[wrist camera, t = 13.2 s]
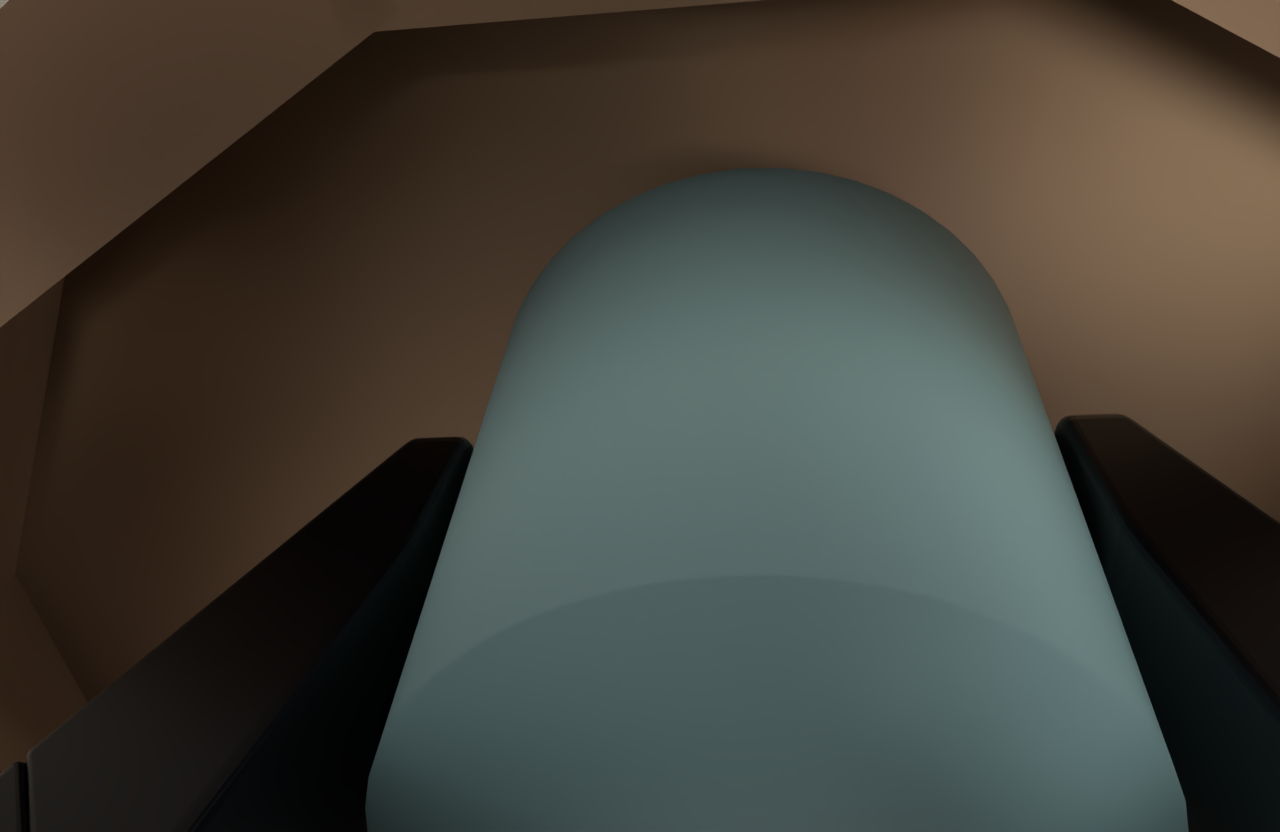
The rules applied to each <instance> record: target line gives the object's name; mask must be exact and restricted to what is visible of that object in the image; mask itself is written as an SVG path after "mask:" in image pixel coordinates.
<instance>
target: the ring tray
mask: <svg viewBox="0 0 1280 832" xmlns="http://www.w3.org/2000/svg"><path fill="white" fill-rule="evenodd" d="M742 168H786V169H796V170H805V171H815V172H820V173H825V174H829V175H833V176H838V177H842V178H847V179H851V180H855V181H857V182H860V183H863V184H866V185H868V186H871V187H874V188H876V189H879V190H882V191H885V192H887V193H890V194H892V195H893V196H895V197H897V198H899V199H901V200H903V201H905V202H907V203H909V204H911V205H912V206H914V207H916V208H918V209H920V210H922V211H923V212H924V213H926V214H927V215H929V216H930V217H931V218H933V219H934V220H936V221H937V222H938V223H940V224H941V225H943V226H944V227H945V228H947V229H948V230H949V231H951V232H952V233H953V234H954V235H955V236H956V237H957V238H958V239H959V240H960V241H961V242H962V243H963V244H964V245H965V246H966V247H967V248H968V249H969V250H970V251H971V252H972V253H973V254H974V255H975V256H976V257H977V259H978V260H979V261H980V263H981V264H982V265H983V267H984V268H985V269H986V271H987V272H988V273H989V274H990V276H991V277H992V278H993V280H994V281H995V283H996V285H997V287H998V289H999V291H1000V293H1001V294H1002V296H1003V298H1004V300H1005V302H1006V304H1007V306H1008V308H1009V310H1010V313H1011V316H1012V319H1013V321H1014V324H1015V327H1016V330H1017V332H1018V335H1019V338H1020V341H1021V344H1022V346H1023V349H1024V352H1025V355H1026V357H1027V360H1028V363H1029V366H1030V369H1031V371H1032V374H1033V377H1034V380H1035V382H1036V385H1037V388H1038V391H1039V393H1040V396H1041V399H1042V402H1043V405H1044V407H1045V410H1046V413H1047V416H1048V418H1049V421H1050V424H1051V427H1052V430H1053V432H1055V429H1056V426H1057V424H1058V422H1059V421H1060V420H1061V419H1062V418H1064V417H1065V416H1068V415H1087V414H1114V413H1117V414H1123V415H1126V416H1127V417H1129V418H1131V419H1133V420H1134V421H1136V422H1137V423H1139V424H1140V425H1141V426H1143V427H1144V428H1146V429H1147V430H1149V431H1150V432H1151V433H1153V434H1154V435H1156V436H1157V437H1159V438H1160V439H1161V440H1163V441H1164V442H1166V443H1167V444H1169V445H1170V446H1171V447H1173V448H1174V449H1176V450H1177V451H1179V452H1180V453H1181V454H1183V455H1184V456H1186V457H1187V458H1189V459H1190V460H1191V461H1193V462H1194V463H1196V464H1197V465H1199V466H1200V467H1201V468H1203V469H1204V470H1206V471H1207V472H1209V473H1210V474H1211V475H1213V476H1214V477H1216V478H1217V479H1219V480H1220V481H1221V482H1223V483H1224V484H1226V485H1227V486H1229V487H1230V488H1231V489H1233V490H1234V491H1236V492H1237V493H1239V494H1240V495H1241V496H1243V497H1244V498H1246V499H1247V500H1249V501H1250V502H1251V503H1253V504H1254V505H1256V506H1257V507H1259V508H1260V509H1261V510H1263V511H1264V512H1266V513H1267V514H1268V515H1270V516H1271V517H1273V518H1274V519H1276V520H1277V521H1278V522H1280V0H9V1H8V2H7V3H6V4H5V5H4V6H3V7H2V8H1V9H0V773H2V772H3V771H4V770H5V769H7V768H8V767H9V766H10V765H11V764H13V763H14V762H17V761H21V762H24V763H26V755H27V753H28V752H29V750H30V749H32V748H33V747H34V746H35V745H36V744H38V743H39V742H40V741H41V740H43V739H44V738H45V737H46V736H48V735H49V734H50V733H51V732H52V731H54V730H55V729H56V728H57V727H59V726H60V725H61V724H62V723H64V722H65V721H66V720H67V719H68V718H70V717H71V716H72V715H73V714H75V713H76V712H77V711H78V710H79V709H81V708H82V707H83V706H84V705H86V704H87V703H88V702H89V701H91V700H92V699H93V698H94V697H95V696H97V695H98V694H99V693H100V692H102V691H103V690H104V689H105V688H106V687H108V686H109V685H110V684H111V683H113V682H114V681H115V680H116V679H117V678H119V677H120V676H121V675H122V674H124V673H125V672H126V671H127V670H129V669H130V668H131V667H132V666H133V665H135V664H136V663H137V662H138V661H140V660H141V659H142V658H143V657H144V656H146V655H147V654H148V653H149V652H151V651H152V650H153V649H154V648H155V647H157V646H158V645H159V644H160V643H162V642H163V641H164V640H165V639H167V638H168V637H169V636H170V635H171V634H173V633H174V632H175V631H176V630H178V629H179V628H180V627H181V626H182V625H184V624H185V623H186V622H187V621H189V620H190V619H191V618H192V617H193V616H195V615H196V614H197V613H198V612H200V611H201V610H202V609H203V608H205V607H206V606H207V605H208V604H209V603H211V602H212V601H213V600H214V599H216V598H217V597H218V596H219V595H220V594H222V593H223V592H224V591H225V590H227V589H228V588H229V587H230V586H231V585H233V584H234V583H235V582H236V581H238V580H239V579H240V578H241V577H243V576H244V575H245V574H246V573H247V572H249V571H250V570H251V569H252V568H254V567H255V566H256V565H257V564H258V563H260V562H261V561H262V560H263V559H265V558H266V557H267V556H268V555H269V554H271V553H272V552H273V551H274V550H276V549H277V548H278V547H279V546H281V545H282V544H283V543H284V542H285V541H287V540H288V539H289V538H290V537H292V536H293V535H294V534H295V533H296V532H298V531H299V530H300V529H301V528H303V527H304V526H305V525H306V524H307V523H309V522H310V521H311V520H312V519H314V518H315V517H316V516H317V515H318V514H320V513H321V512H322V511H323V510H325V509H326V508H327V507H328V506H330V505H331V504H332V503H333V502H334V501H336V500H337V499H338V498H339V497H341V496H342V495H343V494H344V493H345V492H347V491H348V490H349V489H350V488H352V487H353V486H354V485H355V484H356V483H358V482H359V481H360V480H361V479H363V478H364V477H365V476H366V475H368V474H369V473H370V472H371V471H372V470H374V469H375V468H376V467H377V466H379V465H380V464H381V463H382V462H383V461H385V460H386V459H387V458H388V457H390V456H391V455H392V454H393V453H394V452H396V451H397V450H398V449H399V448H401V447H402V446H403V445H404V444H406V443H407V442H409V441H410V440H412V439H416V438H430V437H464V438H465V439H467V440H468V441H469V442H470V443H471V444H472V446H473V448H474V447H475V443H476V440H477V437H478V434H479V431H480V428H481V425H482V422H483V418H484V415H485V412H486V409H487V406H488V403H489V400H490V397H491V394H492V390H493V387H494V384H495V381H496V378H497V375H498V372H499V369H500V365H501V362H502V359H503V356H504V353H505V350H506V347H507V344H508V341H509V337H510V334H511V332H512V329H513V326H514V323H515V320H516V317H517V314H518V311H519V309H520V307H521V305H522V303H523V302H524V300H525V298H526V296H527V294H528V292H529V290H530V288H531V286H532V285H533V283H534V282H535V280H536V279H537V278H538V276H539V275H540V274H541V272H542V271H543V269H544V268H545V267H546V265H547V264H548V263H549V261H550V260H551V259H552V258H553V257H554V256H555V255H556V254H557V253H558V252H559V251H560V250H561V249H562V248H563V247H564V246H565V245H566V244H567V243H568V241H569V240H570V239H571V238H572V237H573V236H575V235H576V234H577V233H579V232H580V231H581V230H583V229H584V228H585V227H586V226H588V225H589V224H590V223H592V222H593V221H594V220H596V219H597V218H598V217H599V216H601V215H603V214H604V213H606V212H608V211H610V210H611V209H613V208H615V207H616V206H618V205H620V204H622V203H623V202H625V201H627V200H629V199H630V198H632V197H635V196H637V195H640V194H642V193H645V192H647V191H649V190H652V189H654V188H657V187H659V186H661V185H664V184H667V183H671V182H674V181H678V180H682V179H685V178H689V177H693V176H696V175H700V174H705V173H712V172H719V171H726V170H733V169H742Z"/></svg>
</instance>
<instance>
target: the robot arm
mask: <svg viewBox="0 0 1280 832" xmlns="http://www.w3.org/2000/svg"><path fill="white" fill-rule="evenodd" d="M1054 435H1055V438H1056V441H1057V443H1058V446H1059V449H1060V452H1061V454H1062V457H1063V460H1064V463H1065V466H1066V468H1067V471H1068V474H1069V477H1070V479H1071V482H1072V485H1073V488H1074V491H1075V493H1076V496H1077V499H1078V502H1079V504H1080V507H1081V510H1082V513H1083V515H1084V518H1085V521H1086V524H1087V527H1088V529H1089V532H1090V535H1091V538H1092V540H1093V543H1094V546H1095V549H1096V552H1097V554H1098V557H1099V560H1100V563H1101V565H1102V568H1103V571H1104V574H1105V576H1106V579H1107V582H1108V585H1109V588H1110V590H1111V593H1112V596H1113V599H1114V601H1115V604H1116V607H1117V610H1118V613H1119V615H1120V618H1121V621H1122V624H1123V626H1124V629H1125V632H1126V635H1127V637H1128V640H1129V643H1130V646H1131V649H1132V651H1133V654H1134V657H1135V660H1136V662H1137V665H1138V668H1139V671H1140V674H1141V676H1142V679H1143V682H1144V685H1145V687H1146V690H1147V693H1148V696H1149V698H1150V701H1151V704H1152V707H1153V710H1154V712H1155V715H1156V718H1157V721H1158V723H1159V726H1160V729H1161V732H1162V735H1163V737H1164V740H1165V743H1166V746H1167V748H1168V751H1169V754H1170V757H1171V759H1172V762H1173V765H1174V768H1175V771H1176V774H1177V777H1178V780H1179V783H1180V786H1181V789H1182V792H1183V795H1184V798H1185V801H1186V809H1187V820H1188V830H1189V832H1280V522H1278V521H1277V520H1276V519H1274V518H1273V517H1271V516H1270V515H1268V514H1267V513H1266V512H1264V511H1263V510H1261V509H1260V508H1259V507H1257V506H1256V505H1254V504H1253V503H1251V502H1250V501H1249V500H1247V499H1246V498H1244V497H1243V496H1241V495H1240V494H1239V493H1237V492H1236V491H1234V490H1233V489H1231V488H1230V487H1229V486H1227V485H1226V484H1224V483H1223V482H1221V481H1220V480H1219V479H1217V478H1216V477H1214V476H1213V475H1211V474H1210V473H1209V472H1207V471H1206V470H1204V469H1203V468H1201V467H1200V466H1199V465H1197V464H1196V463H1194V462H1193V461H1191V460H1190V459H1189V458H1187V457H1186V456H1184V455H1183V454H1181V453H1180V452H1179V451H1177V450H1176V449H1174V448H1173V447H1171V446H1170V445H1169V444H1167V443H1166V442H1164V441H1163V440H1161V439H1160V438H1159V437H1157V436H1156V435H1154V434H1153V433H1151V432H1150V431H1149V430H1147V429H1146V428H1144V427H1143V426H1141V425H1140V424H1139V423H1137V422H1136V421H1134V420H1133V419H1131V418H1129V417H1127V416H1126V415H1123V414H1117V413H1114V414H1087V415H1068V416H1065V417H1064V418H1062V419H1061V420H1060V421H1059V422H1058V424H1057V426H1056V429H1055V432H1054ZM473 450H474V448H473V446H472V444H471V443H470V442H469V441H468V440H467V439H465V438H464V437H430V438H416V439H412V440H410V441H409V442H407V443H406V444H404V445H403V446H402V447H401V448H399V449H398V450H397V451H396V452H394V453H393V454H392V455H391V456H390V457H388V458H387V459H386V460H385V461H383V462H382V463H381V464H380V465H379V466H377V467H376V468H375V469H374V470H372V471H371V472H370V473H369V474H368V475H366V476H365V477H364V478H363V479H361V480H360V481H359V482H358V483H356V484H355V485H354V486H353V487H352V488H350V489H349V490H348V491H347V492H345V493H344V494H343V495H342V496H341V497H339V498H338V499H337V500H336V501H334V502H333V503H332V504H331V505H330V506H328V507H327V508H326V509H325V510H323V511H322V512H321V513H320V514H318V515H317V516H316V517H315V518H314V519H312V520H311V521H310V522H309V523H307V524H306V525H305V526H304V527H303V528H301V529H300V530H299V531H298V532H296V533H295V534H294V535H293V536H292V537H290V538H289V539H288V540H287V541H285V542H284V543H283V544H282V545H281V546H279V547H278V548H277V549H276V550H274V551H273V552H272V553H271V554H269V555H268V556H267V557H266V558H265V559H263V560H262V561H261V562H260V563H258V564H257V565H256V566H255V567H254V568H252V569H251V570H250V571H249V572H247V573H246V574H245V575H244V576H243V577H241V578H240V579H239V580H238V581H236V582H235V583H234V584H233V585H231V586H230V587H229V588H228V589H227V590H225V591H224V592H223V593H222V594H220V595H219V596H218V597H217V598H216V599H214V600H213V601H212V602H211V603H209V604H208V605H207V606H206V607H205V608H203V609H202V610H201V611H200V612H198V613H197V614H196V615H195V616H193V617H192V618H191V619H190V620H189V621H187V622H186V623H185V624H184V625H182V626H181V627H180V628H179V629H178V630H176V631H175V632H174V633H173V634H171V635H170V636H169V637H168V638H167V639H165V640H164V641H163V642H162V643H160V644H159V645H158V646H157V647H155V648H154V649H153V650H152V651H151V652H149V653H148V654H147V655H146V656H144V657H143V658H142V659H141V660H140V661H138V662H137V663H136V664H135V665H133V666H132V667H131V668H130V669H129V670H127V671H126V672H125V673H124V674H122V675H121V676H120V677H119V678H117V679H116V680H115V681H114V682H113V683H111V684H110V685H109V686H108V687H106V688H105V689H104V690H103V691H102V692H100V693H99V694H98V695H97V696H95V697H94V698H93V699H92V700H91V701H89V702H88V703H87V704H86V705H84V706H83V707H82V708H81V709H79V710H78V711H77V712H76V713H75V714H73V715H72V716H71V717H70V718H68V719H67V720H66V721H65V722H64V723H62V724H61V725H60V726H59V727H57V728H56V729H55V730H54V731H52V732H51V733H50V734H49V735H48V736H46V737H45V738H44V739H43V740H41V741H40V742H39V743H38V744H36V745H35V746H34V747H33V748H32V749H30V750H29V752H28V753H27V755H26V763H24V762H21V761H17V762H14V763H13V764H11V765H10V766H9V767H8V768H7V769H5V770H4V771H3V772H2V773H0V832H367V823H366V813H365V805H366V795H367V786H368V777H369V774H370V771H371V768H372V765H373V761H374V758H375V755H376V752H377V749H378V746H379V743H380V740H381V737H382V733H383V730H384V727H385V724H386V721H387V718H388V715H389V712H390V708H391V705H392V702H393V699H394V696H395V693H396V690H397V687H398V684H399V680H400V677H401V674H402V671H403V668H404V665H405V662H406V659H407V655H408V652H409V649H410V646H411V643H412V640H413V637H414V634H415V630H416V627H417V624H418V621H419V618H420V615H421V612H422V609H423V606H424V602H425V599H426V596H427V593H428V590H429V587H430V584H431V581H432V577H433V574H434V571H435V568H436V565H437V562H438V559H439V556H440V553H441V549H442V546H443V543H444V540H445V537H446V534H447V531H448V528H449V524H450V521H451V518H452V515H453V512H454V509H455V506H456V503H457V500H458V496H459V493H460V490H461V487H462V484H463V481H464V478H465V475H466V471H467V468H468V465H469V462H470V459H471V456H472V453H473Z"/></svg>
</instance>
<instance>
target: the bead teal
mask: <svg viewBox="0 0 1280 832" xmlns="http://www.w3.org/2000/svg"><path fill="white" fill-rule="evenodd" d="M365 813H366V823H367V832H1189V830H1188V820H1187V809H1186V801H1185V798H1184V795H1183V792H1182V789H1181V786H1180V783H1179V780H1178V777H1177V774H1176V771H1175V768H1174V765H1173V762H1172V759H1171V757H1170V754H1169V751H1168V748H1167V746H1166V743H1165V740H1164V737H1163V735H1162V732H1161V729H1160V726H1159V723H1158V721H1157V718H1156V715H1155V712H1154V710H1153V707H1152V704H1151V701H1150V698H1149V696H1148V693H1147V690H1146V687H1145V685H1144V682H1143V679H1142V676H1141V674H1140V671H1139V668H1138V665H1137V662H1136V660H1135V657H1134V654H1133V651H1132V649H1131V646H1130V643H1129V640H1128V637H1127V635H1126V632H1125V629H1124V626H1123V624H1122V621H1121V618H1120V615H1119V613H1118V610H1117V607H1116V604H1115V601H1114V599H1113V596H1112V593H1111V590H1110V588H1109V585H1108V582H1107V579H1106V576H1105V574H1104V571H1103V568H1102V565H1101V563H1100V560H1099V557H1098V554H1097V552H1096V549H1095V546H1094V543H1093V540H1092V538H1091V535H1090V532H1089V529H1088V527H1087V524H1086V521H1085V518H1084V515H1083V513H1082V510H1081V507H1080V504H1079V502H1078V499H1077V496H1076V493H1075V491H1074V488H1073V485H1072V482H1071V479H1070V477H1069V474H1068V471H1067V468H1066V466H1065V463H1064V460H1063V457H1062V454H1061V452H1060V449H1059V446H1058V443H1057V441H1056V438H1055V435H1054V432H1053V430H1052V427H1051V424H1050V421H1049V418H1048V416H1047V413H1046V410H1045V407H1044V405H1043V402H1042V399H1041V396H1040V393H1039V391H1038V388H1037V385H1036V382H1035V380H1034V377H1033V374H1032V371H1031V369H1030V366H1029V363H1028V360H1027V357H1026V355H1025V352H1024V349H1023V346H1022V344H1021V341H1020V338H1019V335H1018V332H1017V330H1016V327H1015V324H1014V321H1013V319H1012V316H1011V313H1010V310H1009V308H1008V306H1007V304H1006V302H1005V300H1004V298H1003V296H1002V294H1001V293H1000V291H999V289H998V287H997V285H996V283H995V281H994V280H993V278H992V277H991V276H990V274H989V273H988V272H987V271H986V269H985V268H984V267H983V265H982V264H981V263H980V261H979V260H978V259H977V257H976V256H975V255H974V254H973V253H972V252H971V251H970V250H969V249H968V248H967V247H966V246H965V245H964V244H963V243H962V242H961V241H960V240H959V239H958V238H957V237H956V236H955V235H954V234H953V233H952V232H951V231H949V230H948V229H947V228H945V227H944V226H943V225H941V224H940V223H938V222H937V221H936V220H934V219H933V218H931V217H930V216H929V215H927V214H926V213H924V212H923V211H922V210H920V209H918V208H916V207H914V206H912V205H911V204H909V203H907V202H905V201H903V200H901V199H899V198H897V197H895V196H893V195H892V194H890V193H887V192H885V191H882V190H879V189H876V188H874V187H871V186H868V185H866V184H863V183H860V182H857V181H855V180H851V179H847V178H842V177H838V176H833V175H829V174H825V173H820V172H815V171H805V170H796V169H786V168H742V169H733V170H726V171H719V172H712V173H705V174H700V175H696V176H693V177H689V178H685V179H682V180H678V181H674V182H671V183H667V184H664V185H661V186H659V187H657V188H654V189H652V190H649V191H647V192H645V193H642V194H640V195H637V196H635V197H632V198H630V199H629V200H627V201H625V202H623V203H622V204H620V205H618V206H616V207H615V208H613V209H611V210H610V211H608V212H606V213H604V214H603V215H601V216H599V217H598V218H597V219H596V220H594V221H593V222H592V223H590V224H589V225H588V226H586V227H585V228H584V229H583V230H581V231H580V232H579V233H577V234H576V235H575V236H573V237H572V238H571V239H570V240H569V241H568V243H567V244H566V245H565V246H564V247H563V248H562V249H561V250H560V251H559V252H558V253H557V254H556V255H555V256H554V257H553V258H552V259H551V260H550V261H549V263H548V264H547V265H546V267H545V268H544V269H543V271H542V272H541V274H540V275H539V276H538V278H537V279H536V280H535V282H534V283H533V285H532V286H531V288H530V290H529V292H528V294H527V296H526V298H525V300H524V302H523V303H522V305H521V307H520V309H519V311H518V314H517V317H516V320H515V323H514V326H513V329H512V332H511V334H510V337H509V341H508V344H507V347H506V350H505V353H504V356H503V359H502V362H501V365H500V369H499V372H498V375H497V378H496V381H495V384H494V387H493V390H492V394H491V397H490V400H489V403H488V406H487V409H486V412H485V415H484V418H483V422H482V425H481V428H480V431H479V434H478V437H477V440H476V443H475V447H474V450H473V453H472V456H471V459H470V462H469V465H468V468H467V471H466V475H465V478H464V481H463V484H462V487H461V490H460V493H459V496H458V500H457V503H456V506H455V509H454V512H453V515H452V518H451V521H450V524H449V528H448V531H447V534H446V537H445V540H444V543H443V546H442V549H441V553H440V556H439V559H438V562H437V565H436V568H435V571H434V574H433V577H432V581H431V584H430V587H429V590H428V593H427V596H426V599H425V602H424V606H423V609H422V612H421V615H420V618H419V621H418V624H417V627H416V630H415V634H414V637H413V640H412V643H411V646H410V649H409V652H408V655H407V659H406V662H405V665H404V668H403V671H402V674H401V677H400V680H399V684H398V687H397V690H396V693H395V696H394V699H393V702H392V705H391V708H390V712H389V715H388V718H387V721H386V724H385V727H384V730H383V733H382V737H381V740H380V743H379V746H378V749H377V752H376V755H375V758H374V761H373V765H372V768H371V771H370V774H369V777H368V786H367V795H366V805H365Z"/></svg>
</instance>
